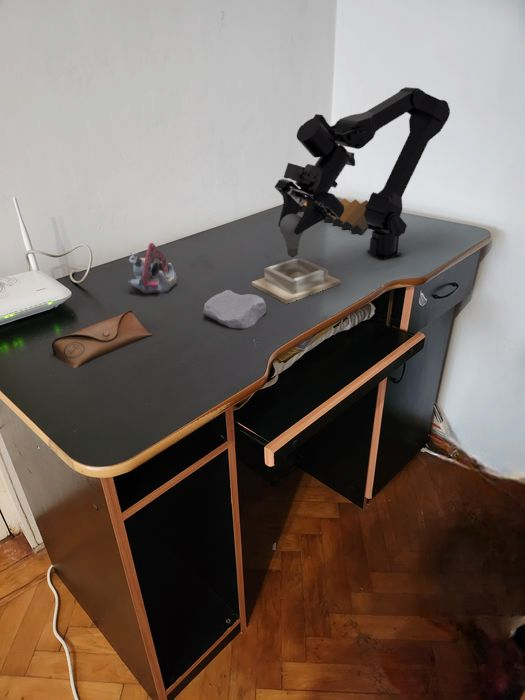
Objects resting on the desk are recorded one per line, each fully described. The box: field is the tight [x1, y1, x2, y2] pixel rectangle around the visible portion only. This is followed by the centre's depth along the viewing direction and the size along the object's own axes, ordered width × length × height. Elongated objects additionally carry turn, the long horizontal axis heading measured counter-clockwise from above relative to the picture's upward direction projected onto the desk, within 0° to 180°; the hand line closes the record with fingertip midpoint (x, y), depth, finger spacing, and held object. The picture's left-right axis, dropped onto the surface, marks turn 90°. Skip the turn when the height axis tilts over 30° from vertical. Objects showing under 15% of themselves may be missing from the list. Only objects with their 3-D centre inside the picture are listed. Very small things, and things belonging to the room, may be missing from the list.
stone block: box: [202, 289, 267, 330], centre depth 112 cm, size 12×5×10 cm
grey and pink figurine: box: [127, 242, 178, 294], centre depth 125 cm, size 11×11×12 cm
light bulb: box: [279, 213, 304, 258], centre depth 120 cm, size 6×6×10 cm
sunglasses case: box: [51, 310, 153, 369], centre depth 104 cm, size 18×7×7 cm
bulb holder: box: [251, 257, 341, 305], centre depth 124 cm, size 16×13×4 cm
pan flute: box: [299, 198, 369, 236], centre depth 166 cm, size 25×3×25 cm
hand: (287, 230), depth 118 cm, fingers closed on light bulb, 5 cm apart
